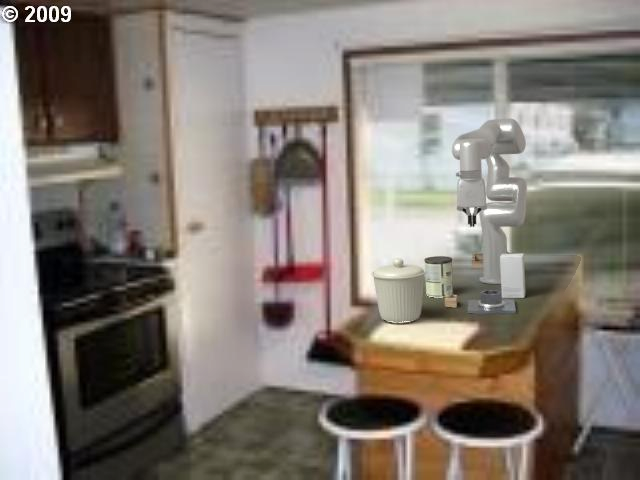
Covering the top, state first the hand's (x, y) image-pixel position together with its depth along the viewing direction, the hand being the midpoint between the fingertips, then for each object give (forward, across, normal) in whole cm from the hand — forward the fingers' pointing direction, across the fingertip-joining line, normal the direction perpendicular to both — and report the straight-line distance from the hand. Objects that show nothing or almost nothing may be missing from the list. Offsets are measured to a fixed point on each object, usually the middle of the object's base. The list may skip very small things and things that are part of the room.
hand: (472, 226), depth 285 cm
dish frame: (+27, +8, +68) cm, 74 cm away
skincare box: (+27, +14, +5) cm, 31 cm away
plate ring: (+25, +6, -12) cm, 28 cm away
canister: (+27, -24, -28) cm, 46 cm away
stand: (+27, -8, -8) cm, 29 cm away
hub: (+27, +6, -12) cm, 30 cm away
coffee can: (+27, -13, +8) cm, 31 cm away
